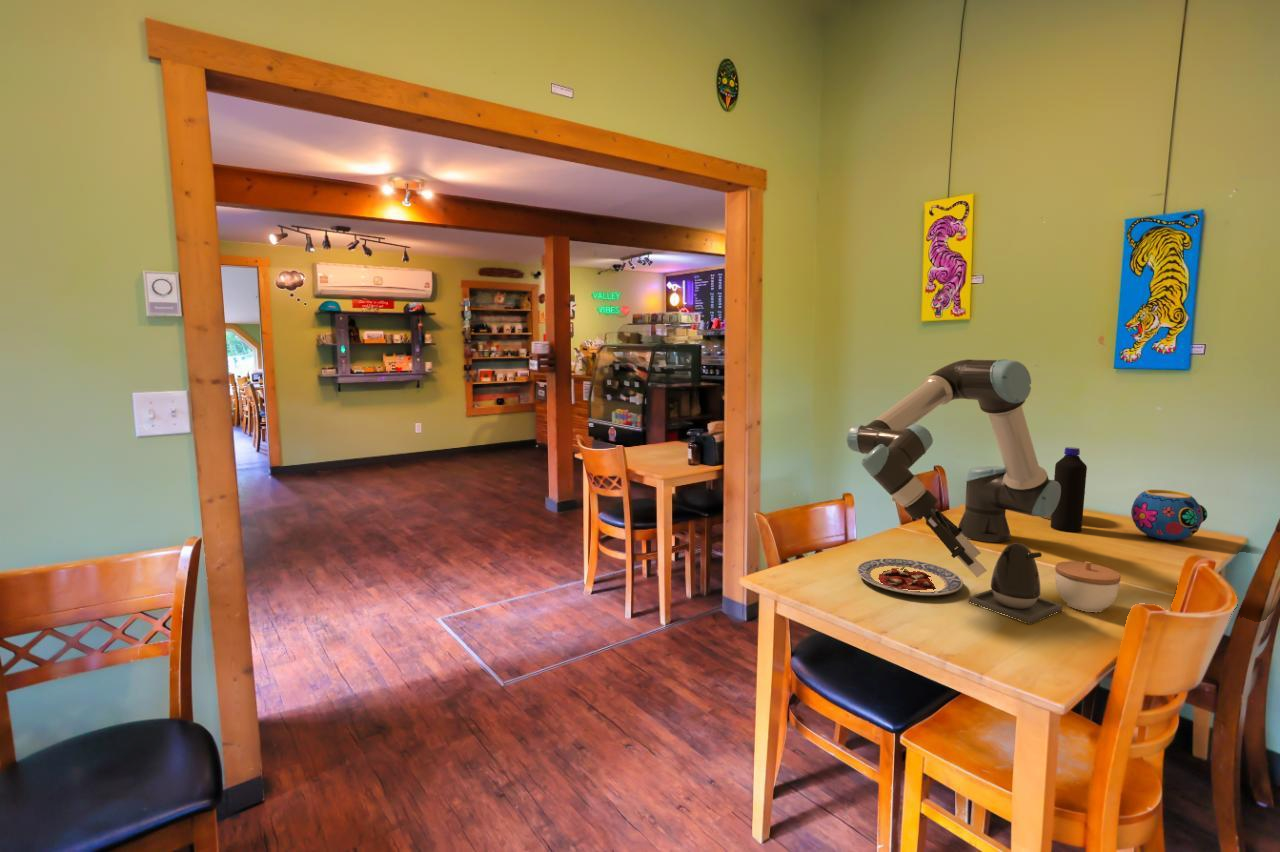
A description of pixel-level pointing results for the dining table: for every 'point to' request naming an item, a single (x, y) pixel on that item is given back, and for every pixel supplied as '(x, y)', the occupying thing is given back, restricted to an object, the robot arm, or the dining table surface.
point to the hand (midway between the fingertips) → (979, 564)
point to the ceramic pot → (1167, 514)
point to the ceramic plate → (909, 576)
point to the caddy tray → (1026, 615)
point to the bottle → (1070, 492)
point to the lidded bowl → (1086, 585)
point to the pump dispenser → (1016, 577)
